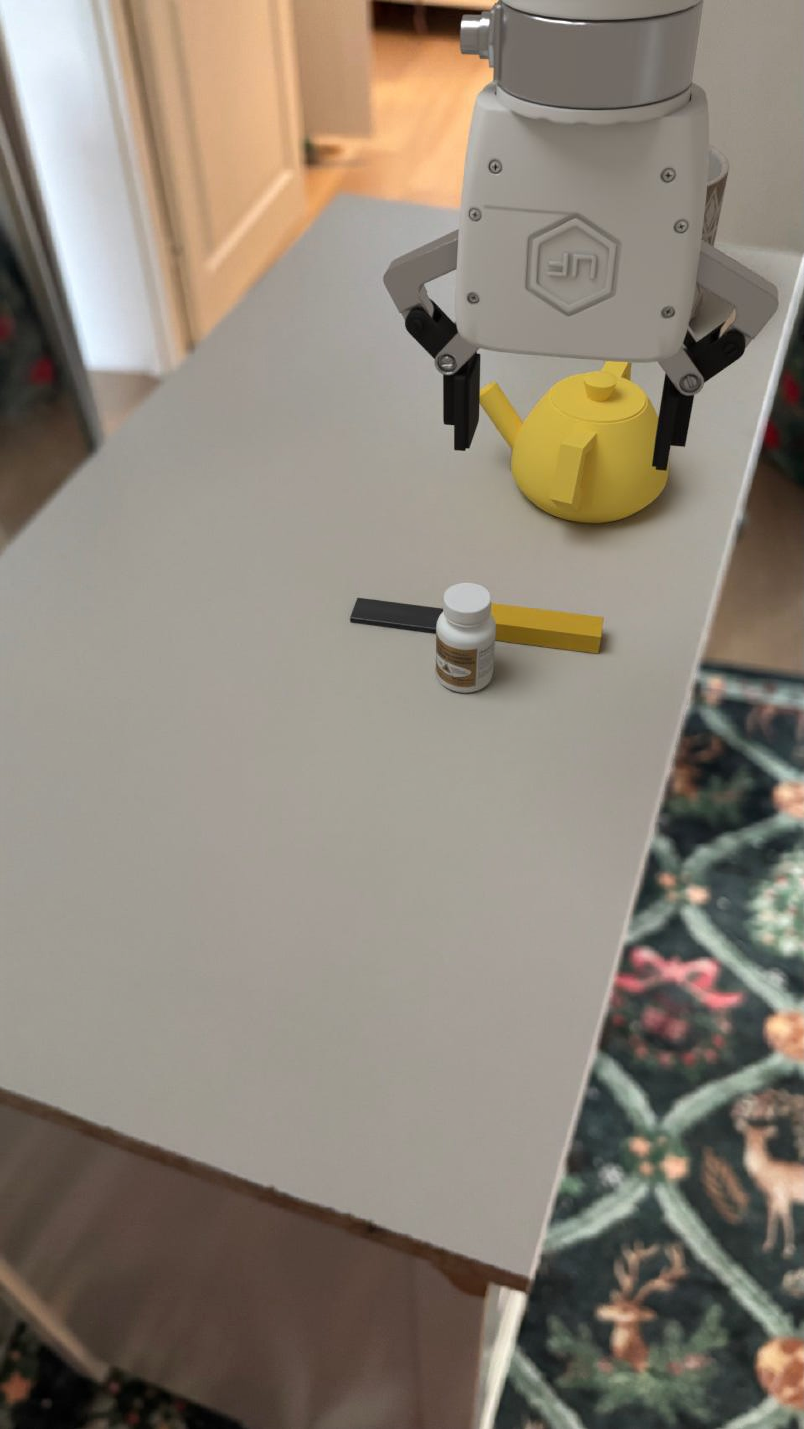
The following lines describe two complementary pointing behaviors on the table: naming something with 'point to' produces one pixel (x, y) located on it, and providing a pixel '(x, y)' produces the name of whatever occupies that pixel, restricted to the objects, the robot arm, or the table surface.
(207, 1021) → the table surface
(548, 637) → the knife
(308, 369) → the table surface
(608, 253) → the robot arm
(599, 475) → the teapot
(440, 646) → the pill bottle
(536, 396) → the table surface
